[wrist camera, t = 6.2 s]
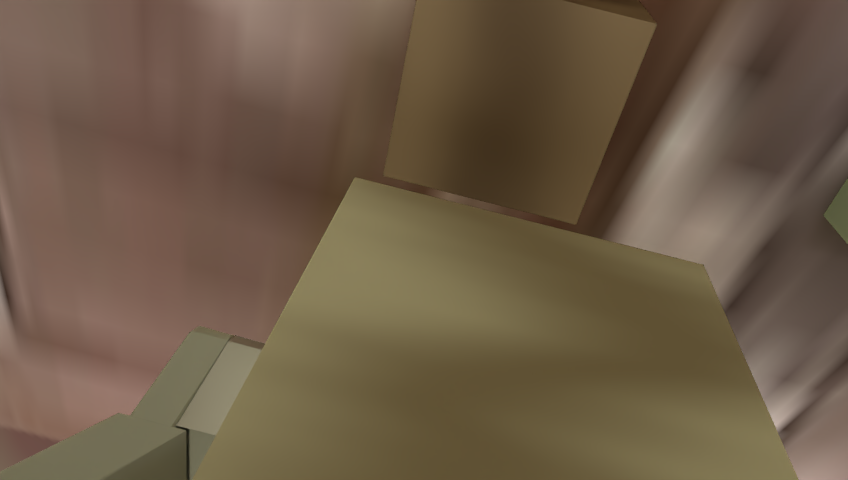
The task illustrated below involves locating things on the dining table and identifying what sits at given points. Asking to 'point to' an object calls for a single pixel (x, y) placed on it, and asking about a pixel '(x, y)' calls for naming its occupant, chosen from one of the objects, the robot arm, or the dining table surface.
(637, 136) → the dining table surface
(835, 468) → the dining table surface
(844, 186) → the green cube
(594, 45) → the brown square block
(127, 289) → the dining table surface
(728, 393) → the birch cube
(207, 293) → the dining table surface
